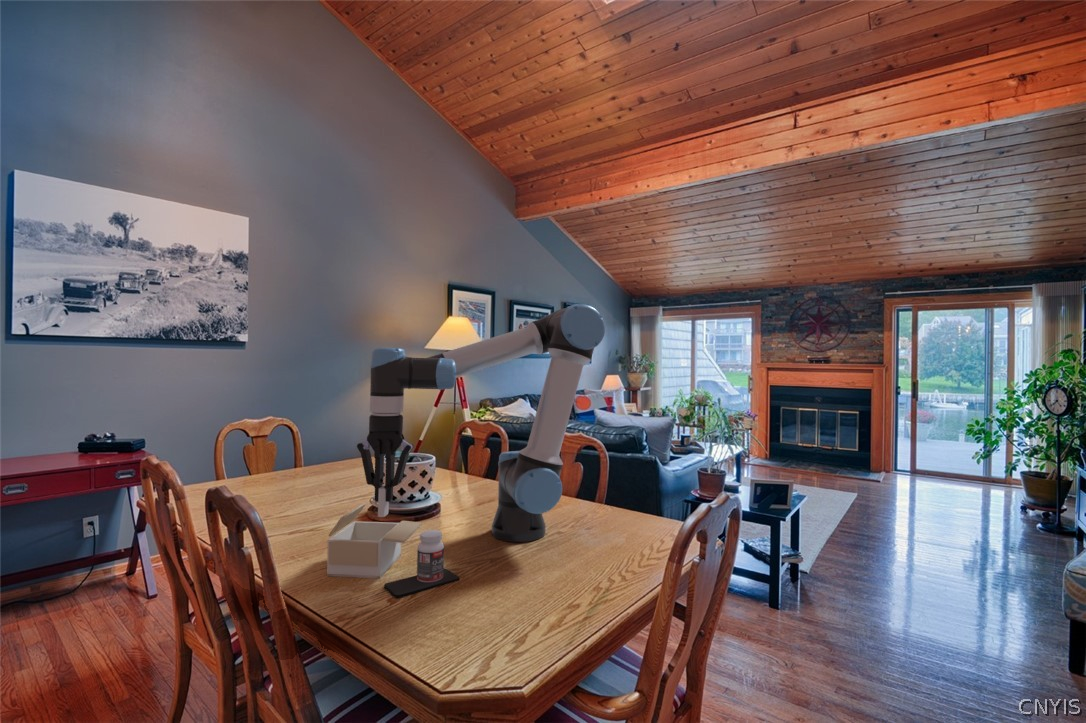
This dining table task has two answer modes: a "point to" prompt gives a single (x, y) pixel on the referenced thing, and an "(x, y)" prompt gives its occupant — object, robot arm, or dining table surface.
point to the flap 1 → (347, 519)
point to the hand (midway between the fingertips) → (383, 515)
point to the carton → (362, 550)
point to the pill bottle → (430, 556)
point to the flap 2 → (402, 531)
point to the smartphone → (417, 584)
